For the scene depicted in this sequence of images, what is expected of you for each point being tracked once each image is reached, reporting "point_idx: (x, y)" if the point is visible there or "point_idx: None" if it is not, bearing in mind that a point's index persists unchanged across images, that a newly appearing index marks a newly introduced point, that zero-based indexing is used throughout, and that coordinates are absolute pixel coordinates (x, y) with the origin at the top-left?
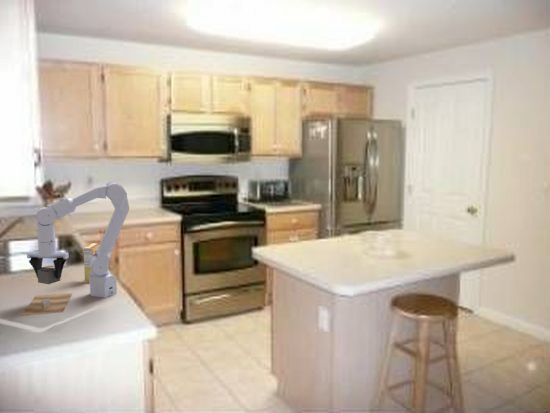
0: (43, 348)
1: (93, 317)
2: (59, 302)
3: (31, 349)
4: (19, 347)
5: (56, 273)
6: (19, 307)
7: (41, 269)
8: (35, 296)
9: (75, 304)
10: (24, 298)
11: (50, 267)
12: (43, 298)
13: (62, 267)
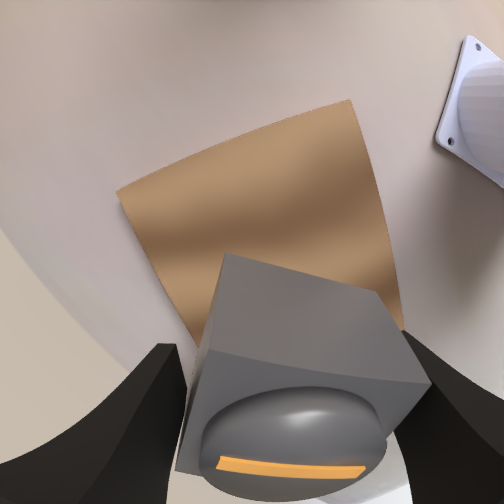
0: (401, 486)
1: (495, 361)
2: None
3: (380, 493)
4: (353, 496)
5: (400, 426)
6: (143, 324)
7: (191, 450)
8: (125, 206)
9: (420, 253)
10: (61, 193)
11: (333, 476)
12: (204, 236)
13: (474, 398)
